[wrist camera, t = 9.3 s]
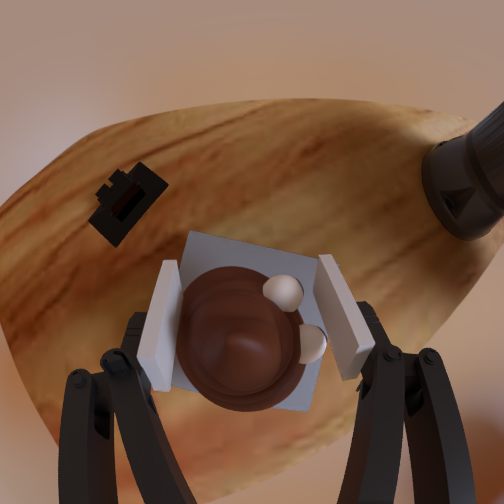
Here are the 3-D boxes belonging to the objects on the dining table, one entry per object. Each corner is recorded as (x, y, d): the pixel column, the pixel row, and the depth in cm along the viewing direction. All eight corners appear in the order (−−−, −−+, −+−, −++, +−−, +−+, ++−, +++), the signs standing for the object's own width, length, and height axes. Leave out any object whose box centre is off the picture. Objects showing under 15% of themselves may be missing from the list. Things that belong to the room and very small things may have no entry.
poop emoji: (158, 297, 19) (97, 283, 10) (266, 248, 20) (291, 195, 11) (218, 420, 17) (207, 493, 8) (325, 371, 18) (390, 408, 9)
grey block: (326, 270, 29) (339, 264, 25) (298, 399, 26) (308, 411, 22) (195, 240, 28) (189, 230, 25) (166, 371, 26) (155, 380, 22)
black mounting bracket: (145, 152, 31) (135, 131, 27) (186, 182, 31) (179, 162, 26) (79, 227, 29) (59, 215, 24) (115, 265, 28) (97, 257, 24)
